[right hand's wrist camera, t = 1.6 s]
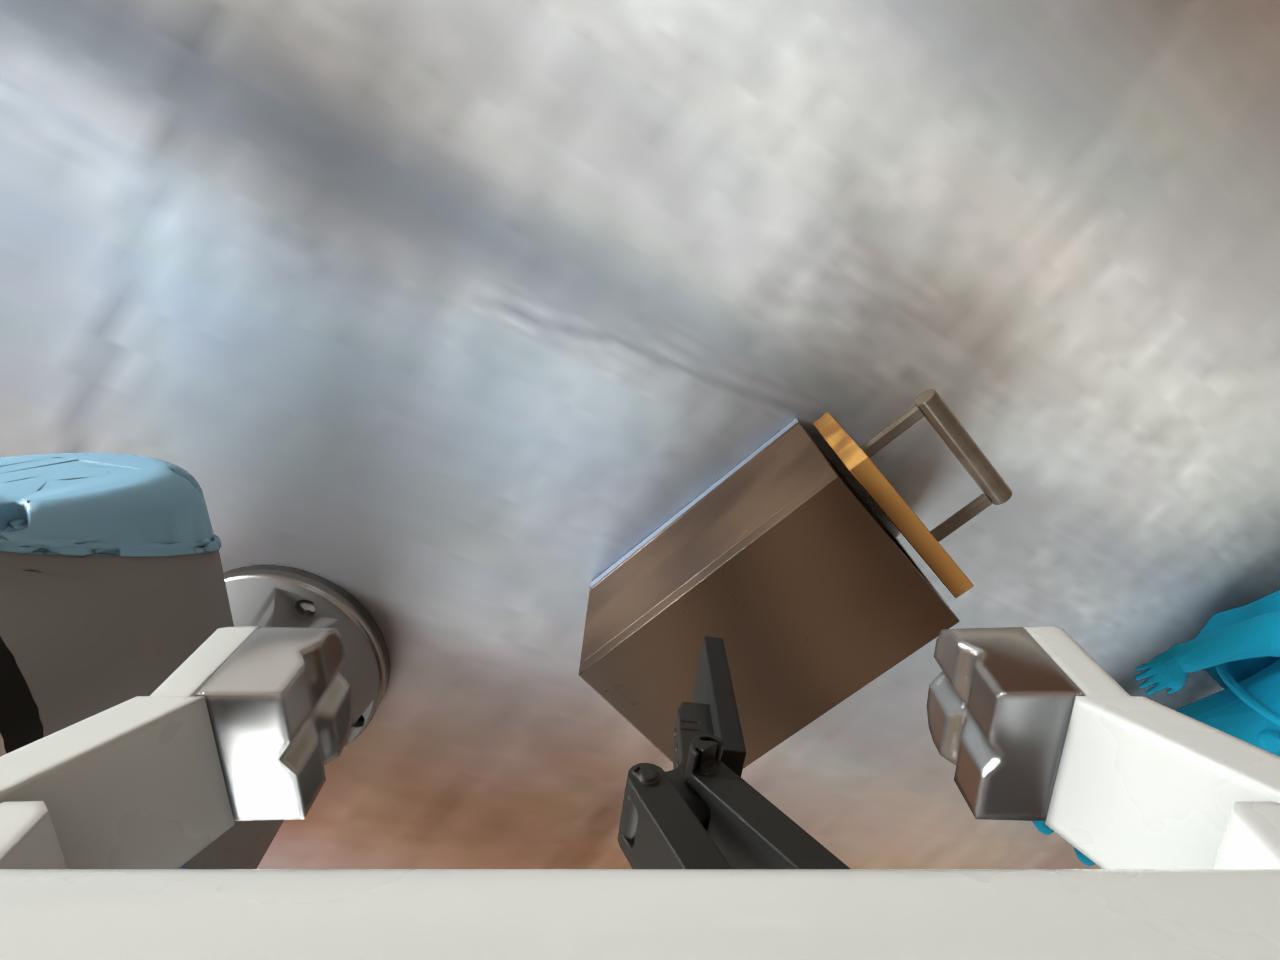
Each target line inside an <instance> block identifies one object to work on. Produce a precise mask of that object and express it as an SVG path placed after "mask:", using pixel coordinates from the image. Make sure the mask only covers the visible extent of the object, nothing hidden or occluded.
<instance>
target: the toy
mask: <svg viewBox="0 0 1280 960" xmlns="http://www.w3.org/2000/svg"><path fill="white" fill-rule="evenodd" d="M1146 669H1148V670H1146ZM1202 669H1205V670H1206V671H1207V672H1208V673H1209V674H1210V675H1211V676H1212V677H1213V678H1214V679H1215V680H1216V681H1217V682H1218V683H1219V684H1220V685H1221V686H1222V687H1223V688H1224V689H1225V690H1222V691H1220V692H1218V693H1215V694H1213V695H1210V696H1208V697H1205V698H1203V699H1201V700H1198V701H1196V702H1193V703H1191V704H1189V705H1186V706H1184V707H1182V708H1180V709H1178V710H1176V711H1177V712H1180V713H1182V714H1184V715H1186V716H1189V717H1191V718H1193V719H1195V720H1198V721H1200V722H1202V723H1204V724H1207V725H1209V726H1211V727H1214V728H1216V729H1218V730H1220V731H1223V732H1225V733H1227V734H1229V735H1232V736H1234V737H1236V738H1238V739H1241V740H1243V741H1245V742H1247V743H1250V744H1252V745H1254V746H1256V747H1259V748H1261V749H1263V750H1265V751H1268V752H1270V753H1272V754H1274V755H1277V756H1279V757H1280V590H1278V591H1276V592H1273V593H1271V594H1269V595H1267V596H1265V597H1263V598H1261V599H1259V600H1257V601H1254V602H1252V603H1250V604H1247V605H1245V606H1241V607H1237V608H1234V609H1230V610H1226V611H1222V612H1219V613H1216V614H1214V615H1213V616H1212V617H1211V619H1210V620H1209V621H1208V622H1207V624H1206V625H1205V626H1204V628H1203V629H1202V630H1201V632H1200V633H1199V634H1198V635H1197V637H1196V638H1195V639H1193V640H1191V641H1188V642H1184V643H1180V644H1176V645H1173V646H1172V647H1171V648H1170V649H1169V650H1168V651H1166V652H1164V653H1162V654H1160V655H1158V656H1157V657H1155V658H1154V659H1152V660H1151V661H1150V662H1148V663H1146V664H1144V665H1142V666H1140V667H1137V668H1136V671H1141V670H1146V671H1145V672H1143V673H1141V674H1139V675H1137V676H1136V677H1135V680H1137V681H1138V680H1141V679H1144V678H1147V677H1151V678H1150V679H1149V680H1147V681H1145V682H1144V683H1142V684H1141V685H1140V686H1139V689H1144V688H1146V687H1149V686H1151V685H1153V684H1156V683H1157V684H1156V685H1155V686H1153V687H1152V688H1151V689H1149V690H1148V691H1147V692H1146V694H1147V695H1152V694H1154V693H1156V692H1157V691H1159V690H1162V689H1164V688H1167V687H1168V688H1170V689H1169V690H1167V693H1168V694H1171V693H1175V692H1176V691H1178V690H1180V689H1181V688H1182V687H1183V685H1184V684H1185V683H1186V679H1187V674H1188V673H1189V672H1195V671H1199V670H1202ZM1045 822H1046V821H1033V823H1034V825H1035V826H1036V827H1037V829H1038V830H1039V831H1040V832H1042V833H1043V834H1047V835H1049V834H1051V833H1052V832H1054V831H1053V830H1052V829H1051V828H1049V827H1048V826H1047V825H1046V824H1045ZM1073 848H1074V850H1075V852H1076V854H1077V857H1078V858H1079V860H1080V861H1081V862H1082V863H1084V864H1085V865H1088V866H1090V865H1094V864H1095V863H1094V862H1093V861H1092V860H1090V859H1089V858H1088V857H1086V856H1085V855H1084V854H1083V853H1081V852H1080V851H1079V850H1078V849H1076V848H1075V847H1074V846H1073Z"/></svg>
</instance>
